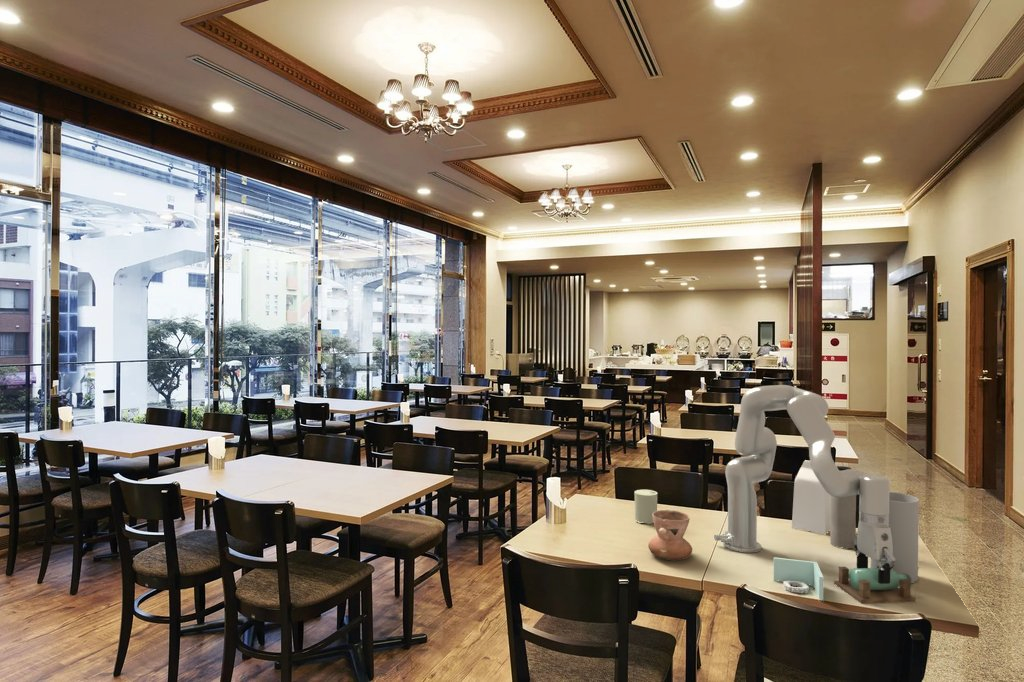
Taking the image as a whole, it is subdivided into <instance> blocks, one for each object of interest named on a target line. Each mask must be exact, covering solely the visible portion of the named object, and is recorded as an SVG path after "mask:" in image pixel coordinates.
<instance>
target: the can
mask: <svg viewBox="0 0 1024 682" xmlns="http://www.w3.org/2000/svg"><path fill="white" fill-rule="evenodd" d="M655 511H658V492H657V491H655V490H653V489H637V490H634V518H633V520H634V519H635V520H637V521H639V522H643V523H654V522H653V517H652V514H653V512H655Z"/></svg>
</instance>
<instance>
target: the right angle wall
mask: <svg viewBox="0 0 1024 682" xmlns="http://www.w3.org/2000/svg"><path fill="white" fill-rule="evenodd" d="M819 566H820V565H819V564H818V562H817V561H811V560H810V561H809V560H801V559H793V558H783V557H776V556H775V557H773V581H774V580H779V581H778V582H780V581H786V582H782V587H783V588H785V589H786V590H785V589H784V590H785V591H787V590H789V591H792V592H796V593H797V592H798V593H801V594H804V592H807V591H808V592H809V590H810V588H809V586H812V585H814V586H813V588H815V589H814V591H815V590H816V592H815V594H816V593H817V594H816V596H817V595H818V597H817V599H818V598H819V599H820V600H823V601H824V576H823V573H822V571H821V569H820V567H819ZM807 584H810V585H807ZM790 585H792V586H790ZM796 586H798V587H796ZM789 591H788V592H789ZM792 592H791V593H792ZM808 592H807V593H808ZM798 593H797V594H798Z"/></svg>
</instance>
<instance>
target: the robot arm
mask: <svg viewBox="0 0 1024 682" xmlns="http://www.w3.org/2000/svg"><path fill="white" fill-rule="evenodd" d="M740 401H741V402H740V410H739V411H740V412H739V418H738V423H737V427H736V432H735V438H734V448H735V451H736V452H737V453H738V454H739V455H742V456H741V457H735V458H733V459H731V460H730V461H729V462H728V463H727V464H726V467H725V478H726V479H725V480H726V484H727V531H725V532H724V533H723V534H715V535H714V536H713V537H714V538H713V539H714V540H715V541H719V542H721V543H722V544H723V546H724V547H725V548H726V547H727V548H726V549H728V550H731V551H734V552H738V551H739V552H740V553H757V552H760V551H761V550H762V545H761V543H760V542H758V541H757V537H758V536H757V532H758V531H757V525H758V523H757V522H758V520H757V519H758V515H757V514H758V512H757V511H758V510H757V509H758V508H757V507H758V503H757V494H756V491H755V487H754V484H756V483H761V482H765V481H766V480H768V479H769V478H770V476H771V474H772V471H773V467H774V466H773V465H774V462H775V456H776V453H777V452H776V450H777V444H778V443H777V438H776V435H775V433H774V432H773V431H772V430H771V429H770V428H768V427H766V426H765V425H766V413H765V412H773V411H781V410H784V411H785V410H786V411H787V413H788V415H789V417H790V419H791V420H792V421H793V423H794V425H795V427H796V428H797V429H798V431H799V433H800V435H801V437H802V438H803V439H804V441H805V442H806V445H807V446H808V451H809V452H808V453H809V454H808V457H809V461H810V462H811V467H812V470H813V472H814V474H815V476H816V477H817V479H818V480H819V482H820V484H821V485H822V487H823V488H824V489H825V491H826V492H827V493H828V494H830V495H831V496H833V497H836V498H843V497H847V496H851V495H856V496H858V495H859V497H858V498H859V505H858V509H859V510H858V515H859V516H858V524H857V531H856V532H857V533H856V537H855V538H853V541H854V545H855V546H854V547H855V548H854V549H855V555H856V569H857V568H869V558H870V559H871V558H872V559H874V560H875V561H877V562H878V565H879V567H880V569H878V583H880V584H889V583H890V570H892V568H893V567H894V563H895V561H896V559H895V558H894V556H893V545H892V535H891V529H890V527H889V495H890V492H891V491H890V487H891V483H890V481H889V478H887V477H885V476H881V475H878V474H869V473H866V472H864V471H862V470H858V469H854V468H851V469H847V470H842V471H839V469H838V468H837V466H838V465H836V463H835V461H834V459H833V455H832V451H831V450H832V449H831V448H832V445H833V442H834V440H835V439H836V435H835V433H834V430H833V429H832V428H831V426H830V424H829V423H828V422H827V419H826V418H825V417H826V416H827V415H828V413H829V404H828V401H827V400H826V399H825V398H824V397H823V396H822V395H820V394H817V393H815V392H811V391H808V390H805V389H802V388H798V387H795V386H792V385H787V384H778V385H776V384H775V385H760V386H756V387H753V388H750V389H748V390H746V392H745V393H744V394H743V396H742V398H741V400H740ZM882 557H883V558H882ZM882 562H885V564H884V565H883V564H882Z"/></svg>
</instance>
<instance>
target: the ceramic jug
mask: <svg viewBox="0 0 1024 682" xmlns="http://www.w3.org/2000/svg"><path fill="white" fill-rule="evenodd" d="M652 517H653V522H654V524H653V525H654V529H655V531H656V533H657V535H655V536H653V537H652V538H651V539H650V540H649V541H648V544H647V545H648V547H647V548H648V550H649V551H650V553H651V554H652V555H654V557H657V558H659V559H662V560H666V559H667V560H668V561H680V560H685V559H687V558H689V557H690V556H691V554H693V546H692V545H691V543H690V542H689V541H687V539H685V538H684V535H685V533H686V532H687V528H688V526H689V523H690V516H689V515H688V514H687V513H685V512H682V511H679V510H676V509H675V510H669V509H660V510H657V511H655V512H653V514H652Z"/></svg>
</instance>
